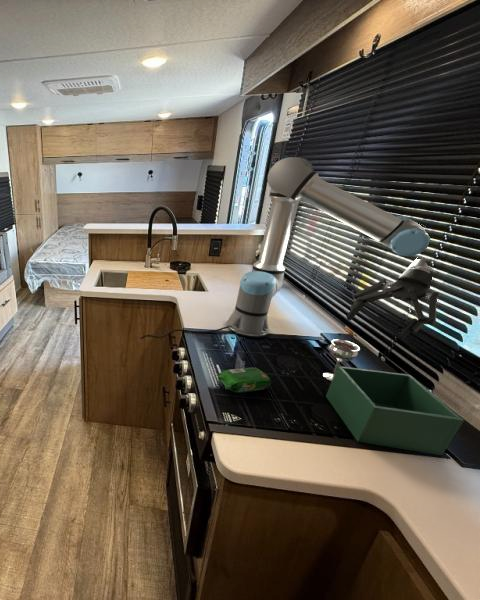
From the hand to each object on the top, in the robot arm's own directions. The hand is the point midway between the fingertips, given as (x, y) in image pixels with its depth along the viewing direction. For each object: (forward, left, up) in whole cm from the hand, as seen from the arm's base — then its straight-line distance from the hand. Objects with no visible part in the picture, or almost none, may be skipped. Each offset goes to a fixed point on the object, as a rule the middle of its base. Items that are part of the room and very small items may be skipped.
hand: (372, 327), depth 94 cm
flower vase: (-8, +80, -16) cm, 82 cm away
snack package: (-38, -18, -16) cm, 45 cm away
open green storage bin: (-7, -25, -16) cm, 30 cm away
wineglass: (-9, -6, -16) cm, 19 cm away
